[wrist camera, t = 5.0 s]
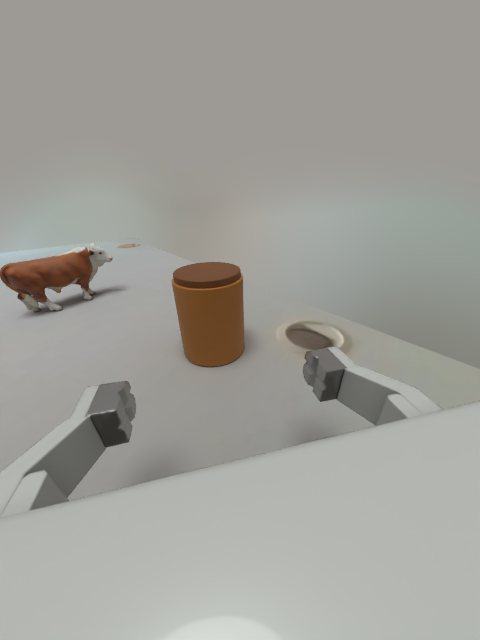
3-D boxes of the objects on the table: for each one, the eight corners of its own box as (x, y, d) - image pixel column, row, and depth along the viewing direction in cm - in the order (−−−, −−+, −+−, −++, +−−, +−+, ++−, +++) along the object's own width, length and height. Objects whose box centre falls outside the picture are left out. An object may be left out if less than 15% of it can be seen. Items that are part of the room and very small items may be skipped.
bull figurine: (125, 291, 38) (111, 242, 35) (25, 321, 30) (-9, 259, 26) (114, 286, 41) (99, 240, 37) (19, 312, 32) (-14, 255, 28)
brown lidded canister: (256, 345, 23) (257, 268, 20) (211, 376, 20) (201, 288, 16) (216, 326, 27) (210, 258, 23) (172, 349, 23) (156, 272, 19)
